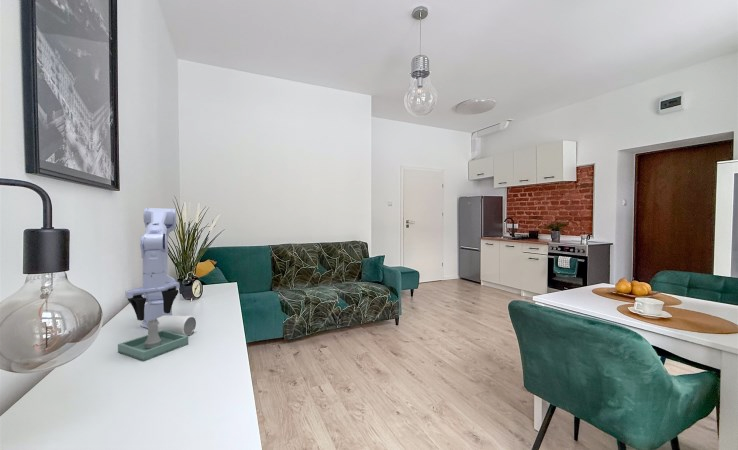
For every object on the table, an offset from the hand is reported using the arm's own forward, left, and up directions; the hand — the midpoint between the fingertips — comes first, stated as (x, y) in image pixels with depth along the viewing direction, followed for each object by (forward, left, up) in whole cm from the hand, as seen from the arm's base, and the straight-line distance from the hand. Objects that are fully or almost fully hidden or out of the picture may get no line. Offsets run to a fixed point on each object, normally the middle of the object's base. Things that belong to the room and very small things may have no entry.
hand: (154, 316), depth 93 cm
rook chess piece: (0, 0, -10) cm, 10 cm away
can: (0, +12, -7) cm, 13 cm away
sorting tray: (0, 0, -10) cm, 10 cm away
